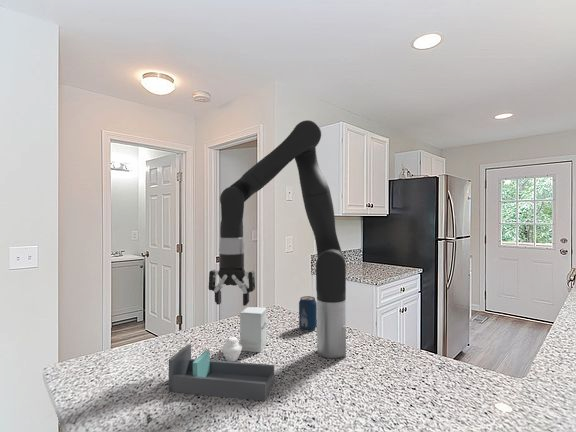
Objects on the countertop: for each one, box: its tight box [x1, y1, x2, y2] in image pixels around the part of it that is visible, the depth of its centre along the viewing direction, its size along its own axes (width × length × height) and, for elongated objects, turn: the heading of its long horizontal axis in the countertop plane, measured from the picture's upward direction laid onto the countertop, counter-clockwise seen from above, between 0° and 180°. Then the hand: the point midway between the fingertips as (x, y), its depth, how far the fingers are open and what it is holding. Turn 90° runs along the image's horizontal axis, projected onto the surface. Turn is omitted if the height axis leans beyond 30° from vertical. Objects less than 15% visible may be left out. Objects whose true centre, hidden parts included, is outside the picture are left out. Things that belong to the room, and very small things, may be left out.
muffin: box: [221, 336, 242, 362], centre depth 99 cm, size 6×6×7 cm
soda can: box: [298, 295, 317, 332], centre depth 126 cm, size 7×7×12 cm
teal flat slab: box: [193, 349, 211, 377], centre depth 85 cm, size 1×8×6 cm, turn 170°
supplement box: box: [239, 306, 267, 353], centre depth 108 cm, size 7×7×13 cm
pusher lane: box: [168, 343, 275, 402], centre depth 83 cm, size 25×10×8 cm, turn 80°
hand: (231, 304), depth 99 cm, fingers open, 8 cm apart
